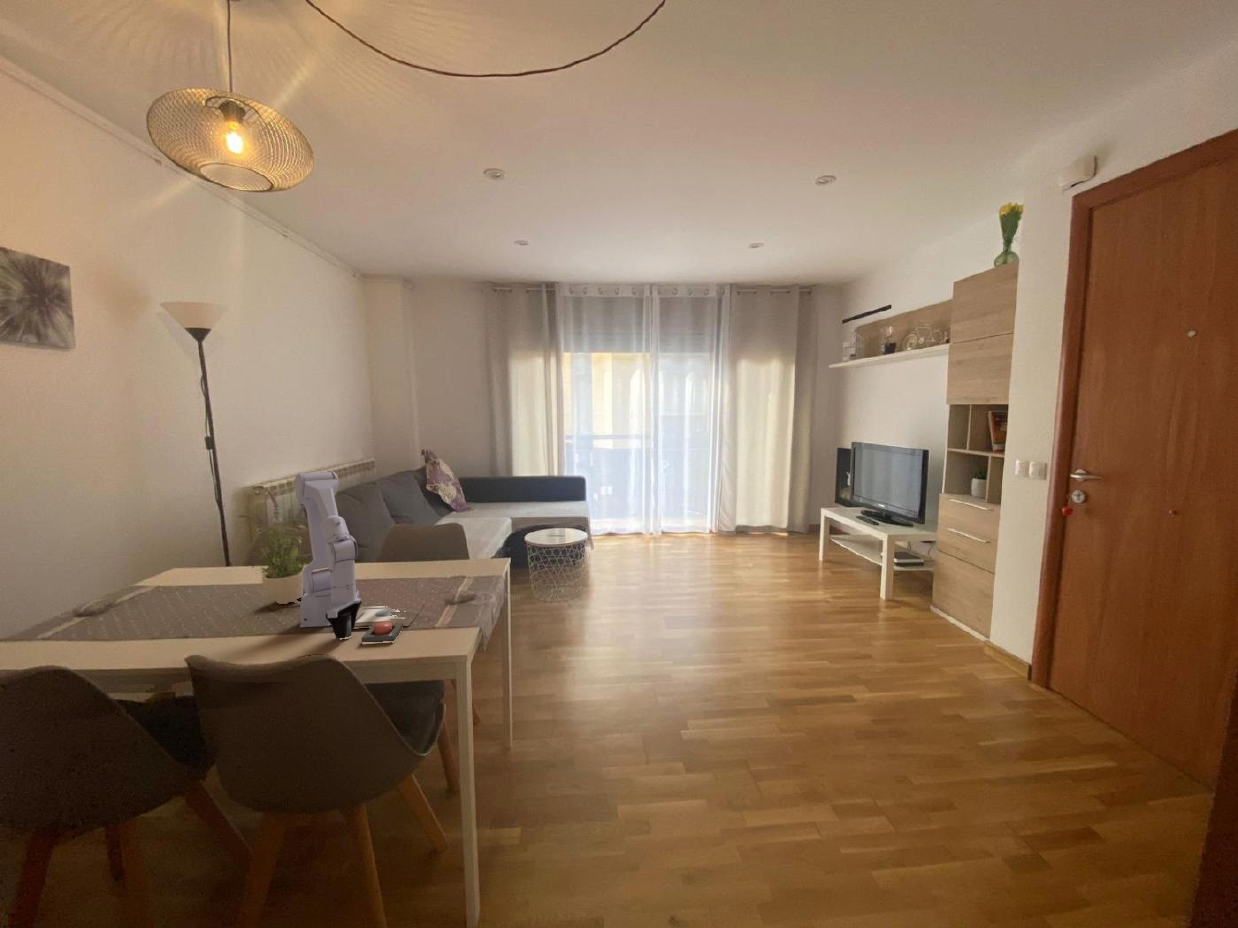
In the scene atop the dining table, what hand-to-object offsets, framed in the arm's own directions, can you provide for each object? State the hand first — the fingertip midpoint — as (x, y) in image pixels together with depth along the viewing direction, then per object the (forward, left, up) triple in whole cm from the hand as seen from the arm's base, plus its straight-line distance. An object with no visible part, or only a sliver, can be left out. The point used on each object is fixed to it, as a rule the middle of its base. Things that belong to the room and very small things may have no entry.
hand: (345, 632), depth 125 cm
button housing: (+10, -1, -1) cm, 10 cm away
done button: (+10, -1, 0) cm, 10 cm away
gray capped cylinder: (0, 0, -1) cm, 1 cm away
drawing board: (+5, +13, -1) cm, 14 cm away
